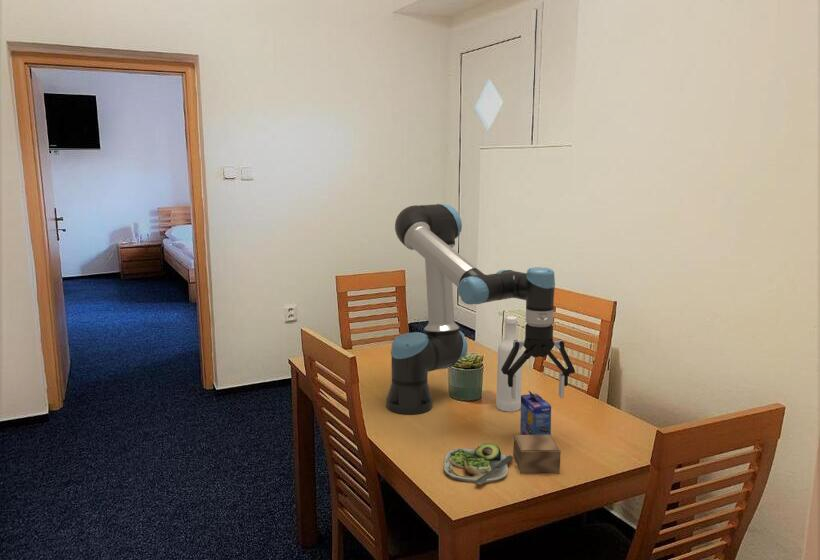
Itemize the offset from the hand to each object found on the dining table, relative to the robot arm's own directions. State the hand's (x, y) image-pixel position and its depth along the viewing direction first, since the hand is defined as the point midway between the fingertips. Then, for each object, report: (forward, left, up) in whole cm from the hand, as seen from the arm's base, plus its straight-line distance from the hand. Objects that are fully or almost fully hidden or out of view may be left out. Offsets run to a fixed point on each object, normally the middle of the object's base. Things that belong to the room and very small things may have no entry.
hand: (537, 397), depth 181 cm
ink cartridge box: (0, 0, -13) cm, 13 cm away
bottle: (-3, +25, -13) cm, 29 cm away
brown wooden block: (-3, -15, -13) cm, 20 cm away
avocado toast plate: (-19, -16, -14) cm, 28 cm away
